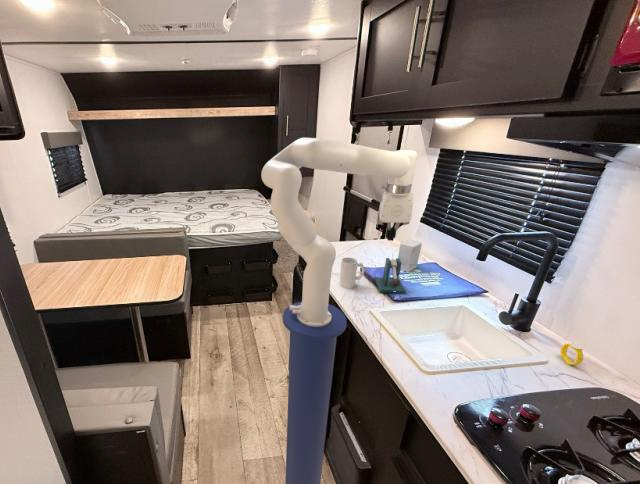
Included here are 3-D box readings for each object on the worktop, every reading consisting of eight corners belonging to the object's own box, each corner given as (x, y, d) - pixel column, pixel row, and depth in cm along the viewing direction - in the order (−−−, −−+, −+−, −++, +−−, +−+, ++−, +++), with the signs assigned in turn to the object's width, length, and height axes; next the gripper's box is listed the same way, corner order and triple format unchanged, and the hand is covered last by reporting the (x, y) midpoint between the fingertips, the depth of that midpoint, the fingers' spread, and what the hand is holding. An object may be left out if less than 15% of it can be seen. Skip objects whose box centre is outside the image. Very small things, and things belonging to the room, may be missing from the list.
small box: (404, 263, 157) (409, 239, 151) (416, 267, 152) (422, 242, 147) (395, 268, 153) (400, 243, 147) (408, 272, 148) (413, 246, 142)
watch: (555, 354, 95) (562, 338, 93) (565, 355, 95) (573, 339, 92) (569, 368, 90) (578, 351, 87) (581, 369, 89) (590, 352, 87)
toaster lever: (399, 287, 127) (401, 283, 125) (391, 287, 128) (393, 283, 125) (395, 263, 134) (397, 259, 131) (387, 263, 134) (389, 259, 132)
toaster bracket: (405, 294, 130) (410, 266, 125) (379, 292, 132) (384, 265, 127) (397, 280, 141) (402, 254, 136) (374, 279, 143) (378, 254, 137)
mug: (340, 288, 137) (342, 263, 132) (337, 281, 143) (340, 257, 138) (363, 288, 136) (367, 263, 131) (360, 281, 142) (364, 257, 137)
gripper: (377, 191, 104) (370, 242, 112) (426, 191, 101) (415, 243, 109) (373, 186, 111) (366, 235, 119) (418, 186, 108) (408, 236, 116)
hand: (389, 239), depth 114 cm, fingers closed
